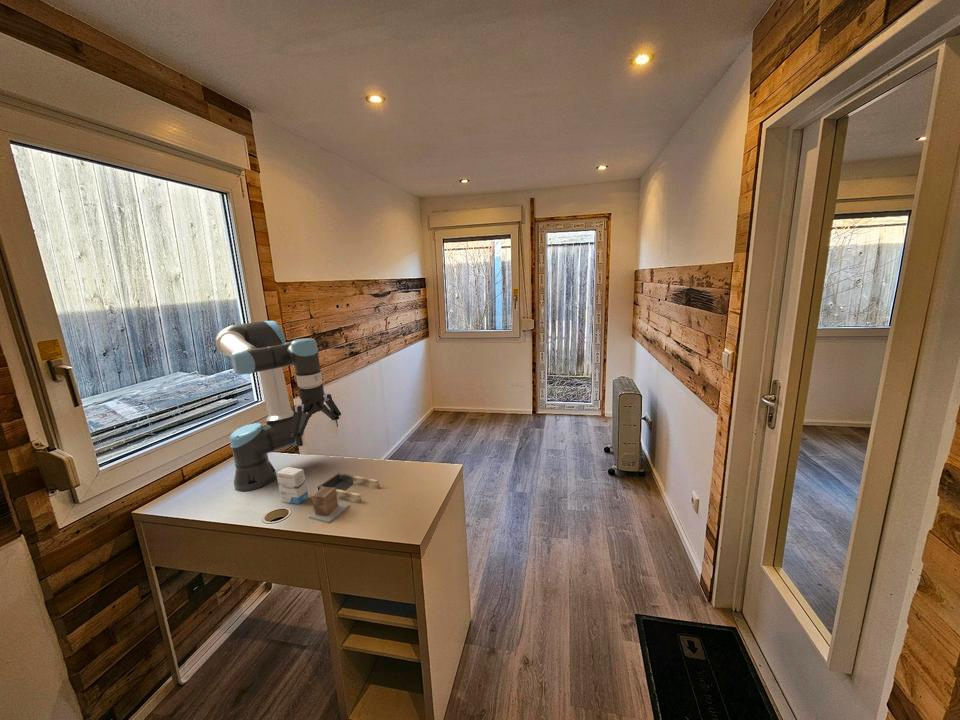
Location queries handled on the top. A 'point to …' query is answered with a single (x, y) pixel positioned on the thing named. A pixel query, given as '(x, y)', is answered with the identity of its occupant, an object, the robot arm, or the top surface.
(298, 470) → the ink box
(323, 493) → the walnut block
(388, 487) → the top surface
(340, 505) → the slate pad
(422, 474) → the top surface
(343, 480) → the channel
